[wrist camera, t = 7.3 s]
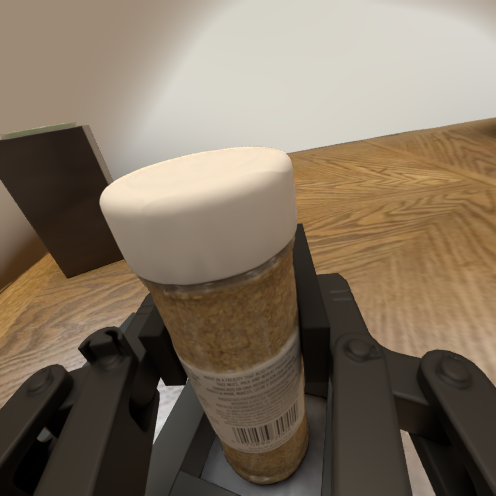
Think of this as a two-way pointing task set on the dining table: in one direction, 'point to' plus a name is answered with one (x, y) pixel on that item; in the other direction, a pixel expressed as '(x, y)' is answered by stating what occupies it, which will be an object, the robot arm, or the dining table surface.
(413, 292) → the dining table surface
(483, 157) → the dining table surface
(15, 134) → the coaster
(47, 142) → the riser
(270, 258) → the sprinkles bottle
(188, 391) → the bottle rack
